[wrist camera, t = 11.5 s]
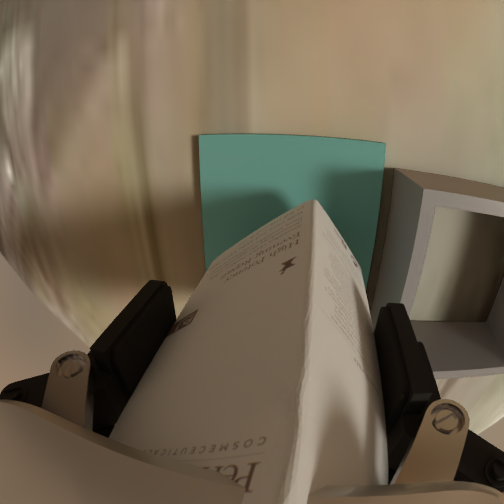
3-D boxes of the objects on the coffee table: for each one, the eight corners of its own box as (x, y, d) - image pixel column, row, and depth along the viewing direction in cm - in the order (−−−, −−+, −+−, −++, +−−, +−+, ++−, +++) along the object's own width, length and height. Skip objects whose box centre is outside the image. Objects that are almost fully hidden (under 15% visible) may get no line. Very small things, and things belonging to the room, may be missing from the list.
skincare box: (313, 191, 13) (281, 516, 2) (365, 270, 14) (402, 551, 3) (207, 261, 15) (61, 485, 4) (261, 325, 16) (191, 552, 6)
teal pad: (383, 142, 13) (385, 143, 13) (352, 340, 18) (352, 346, 18) (202, 134, 15) (198, 135, 14) (214, 326, 20) (211, 332, 19)
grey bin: (530, 194, 12) (575, 220, 8) (489, 328, 16) (513, 372, 12) (394, 168, 14) (423, 188, 10) (366, 326, 18) (374, 379, 14)
